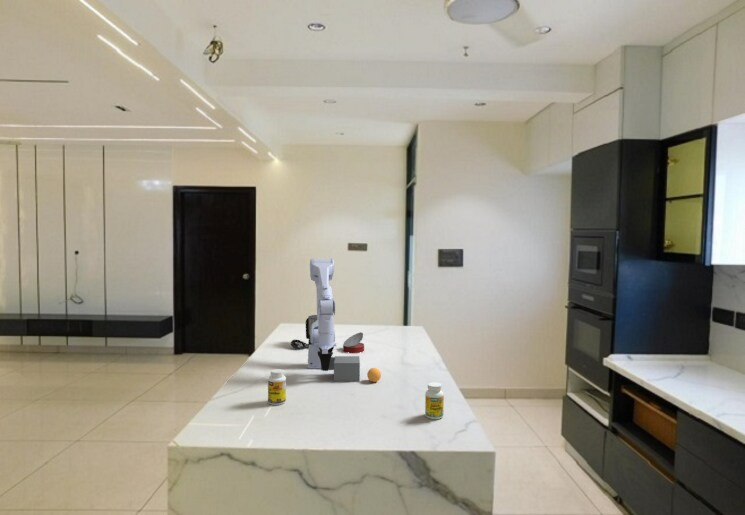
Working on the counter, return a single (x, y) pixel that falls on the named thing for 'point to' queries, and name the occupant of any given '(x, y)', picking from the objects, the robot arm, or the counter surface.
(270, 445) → the counter surface
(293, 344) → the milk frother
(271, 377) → the supplement bottle
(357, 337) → the canned food
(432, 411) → the supplement bottle
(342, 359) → the grey blocky piece
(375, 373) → the ball
